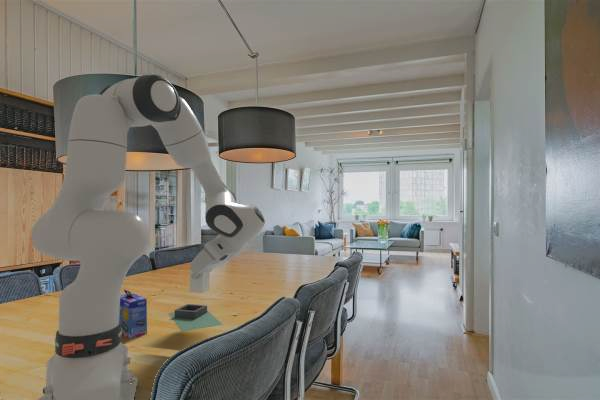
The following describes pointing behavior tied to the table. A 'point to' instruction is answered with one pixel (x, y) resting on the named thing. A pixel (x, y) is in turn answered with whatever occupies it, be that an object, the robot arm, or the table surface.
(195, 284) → the plug
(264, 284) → the table surface
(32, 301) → the table surface
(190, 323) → the board
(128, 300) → the ink cartridge box
